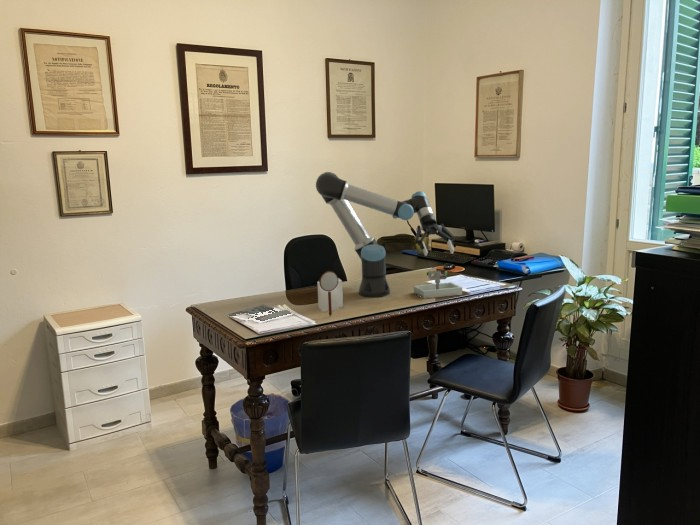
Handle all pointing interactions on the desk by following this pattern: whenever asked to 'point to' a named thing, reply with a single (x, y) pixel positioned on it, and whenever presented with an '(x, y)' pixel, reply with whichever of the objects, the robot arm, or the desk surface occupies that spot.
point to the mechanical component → (437, 277)
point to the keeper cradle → (438, 290)
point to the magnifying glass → (329, 285)
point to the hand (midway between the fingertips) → (439, 253)
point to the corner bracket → (335, 297)
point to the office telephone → (262, 309)
